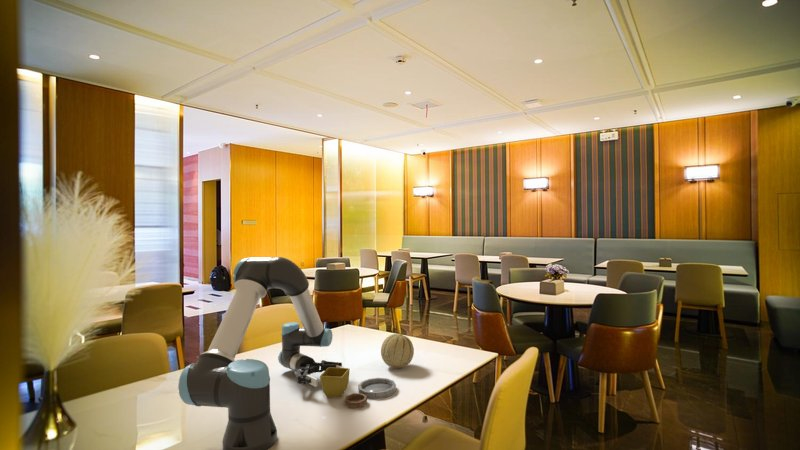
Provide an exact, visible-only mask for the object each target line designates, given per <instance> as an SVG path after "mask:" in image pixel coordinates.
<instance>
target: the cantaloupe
mask: <svg viewBox="0 0 800 450" xmlns="http://www.w3.org/2000/svg"><path fill="white" fill-rule="evenodd" d="M414 349H415V348H414V345H413V342H412V340H411V339H410V338H409V337H408V336H406V335H404V334H403V333H402V331H400V332H399V333H393V334H390V335H388V336H387V337H386V338H385V339H384V340H383V341H382V345H381V347H380V355H381V358H382V360H383V362H384V363H385V365H387V366H389V367H391V368H393V369H402V368H405V367H407V366H408V365H409V364H410V363H411V362H412V360H413V359H414V355H415V353H414V352H415V350H414Z"/></svg>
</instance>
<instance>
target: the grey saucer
mask: <svg viewBox="0 0 800 450" xmlns="http://www.w3.org/2000/svg"><path fill="white" fill-rule="evenodd" d="M396 389H397V384H396V383H395V381H394V380H393V379H390V378H387V377H385V378H383V377H374V378H373V377H372V378H368V379H365V380H363V381H361V382H359V384H358V385H357V390H358V393H362V394H364V395H366V396H367V399H383V398H388V397H389V396H392V395H393V394H395V392H396Z"/></svg>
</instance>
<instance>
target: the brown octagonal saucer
mask: <svg viewBox="0 0 800 450" xmlns="http://www.w3.org/2000/svg"><path fill="white" fill-rule="evenodd" d="M367 401H368V398H367V396H366V395H364V394H362V393H359V392H358V393H357V392H354V393H350V394H348V395H346V396H345V398H344V405H345V407H346V408H348V409H351V410H352V409H353V410H356V409H361V408H365V406H366V405H367Z"/></svg>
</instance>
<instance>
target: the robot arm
mask: <svg viewBox="0 0 800 450" xmlns="http://www.w3.org/2000/svg"><path fill="white" fill-rule="evenodd" d="M232 273H233V275H232V281H233V284H234V289H235V292H234V295H233V296H232V299H231V301H230V302H229V305H228V307H227V310H226V312H225V313H224V316H223V318H222V320H221V322H220V324H219V326H218V327H217V331H216V332H215V334H214V337H213V338H212V340H211V343H210V345H209V347H208V349H207V351H204V352H202V353H200V355H199V356H198V358H197V361H196V362H193V363H190V364H188V365H187V366H185V367H184V369H182V372H181V373H180V376H179V379H178V389H177V390H178V395H179V398H180V399H181V400H182V402H183V404H186V405H189V406H195V407H211V408H227V413H228V415H227V417H228V421H227V424H226V427H225V431H224V434H223V438H222V450H268V449H270V448H272V446H273V445H274V444H275V443H276V442H277V439H278V429H277V426H276V424H275V421H274V419H273V416H272V412H271V389H270V388H271V387H270V386H271V385H270V383H271V377H270V369H269V367H268V365H267V364H266V363H265V362H264V361H261V360H258V359H253V358H246V359H237V360H235V358H236V355H237V354H238V351H239V349H240V346H241V344H242V343H243V339H244V337H245V335H246V333H247V330H248V328H249V325H250V323H251V320H252V318H253V315H254V313H255V311H256V309H257V306H258V303H259V301H260V299H264V298H265V297H266V295H267V293H268V290H270V289H279V290H282V291H283V293H284V295H286V296H287V297H289V299H290V301H291V303H292V306H293V307H294V310H295V312H296V314H297V316H298V318H299V320H300V323H301V325H302V327H300V323H299V322H296V321H291V322H290V321H289V322H285V323H284V324H282V326H281V349H282V350H281V351H280V352H279V355H278V356H277V360H278V363H279V364H280V365H281V366H283V368H286V369H289V370H291V371H293V372H294V376H295V377H296V381H297V384H301V383H302V385H307V384H310V385H311V386H312V387H315V388H317V387H319V385H318V384H319V383H318V380H319V379H318V378H316V377H314V376H312V375H311V374H316V373H323V372H325V371H326V369H327V368H329V367H335V368H345V367H344V366H343V362H339V361H338V362H337V361H330V360H329V361H327V360H321V361H320V362H316V361H315V360H314V358H313V357H311V356H308V355H307V354H303V353H301V350H300V348H301V347H317V348H318V347H320V348H323V347H324V348H325V347H330V345H331V344H332V342H333V331H332V329H330V328H327V327H326V328H325V327H324V325H323V323H322V321H321V317H320V315H319V312H318V310H317V307H316V304H315V303H314V300H313V297H312V294H311V293H310V290H309V286H310V283H309V280H308V277H307V276H306V274H305V273H304V271H303V269H301V268H300V267H299V266H298V264H296V263H295V262H293V261H292V260H290V259H288V258H286V257H282V256H273V257H267V256H266V257H262V256H261V257H256V256H252V257H251V256H250V257H245V258H243V259H240V260H239V261H238V262H237V263H236V265H235V267H234V269H233V272H232Z"/></svg>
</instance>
